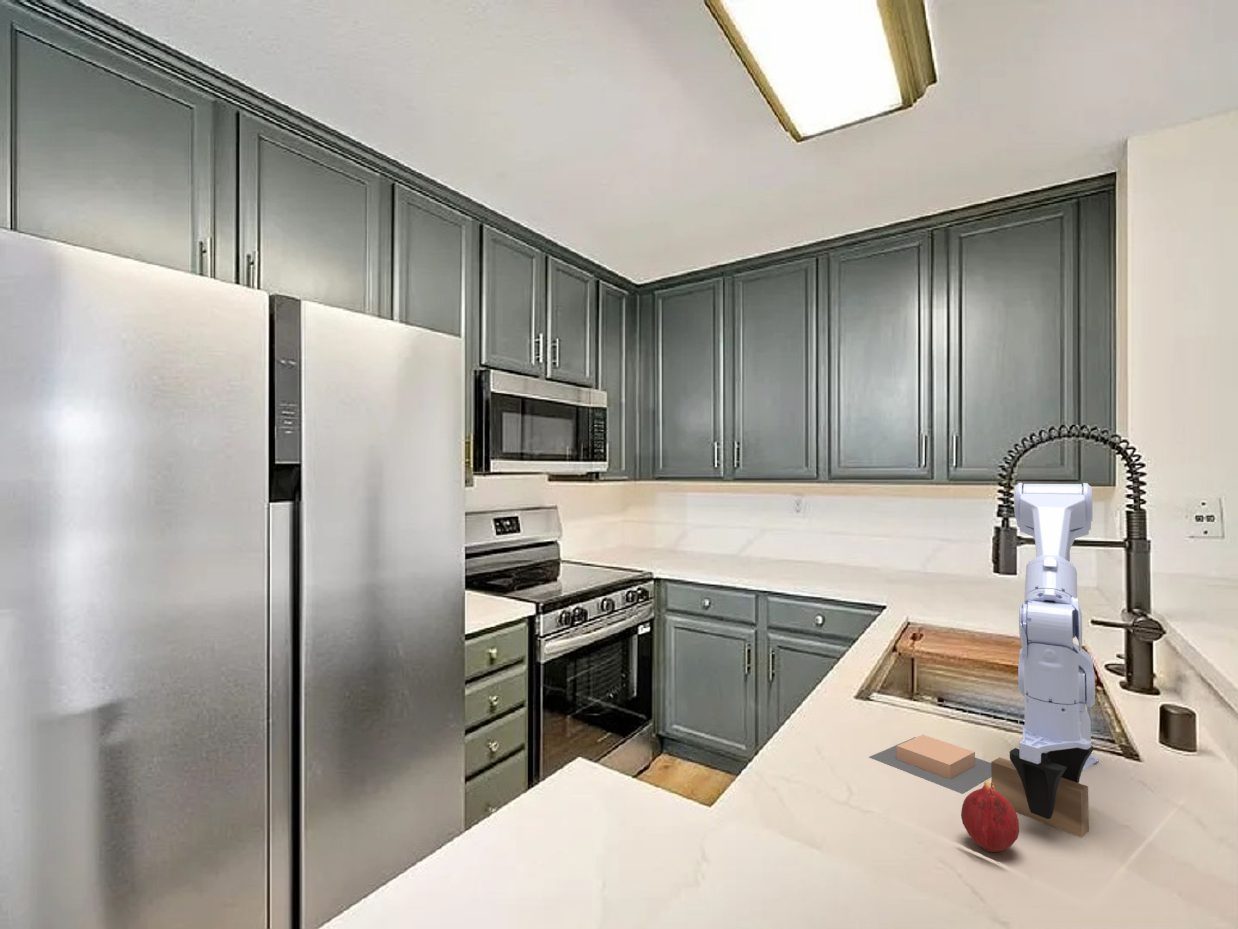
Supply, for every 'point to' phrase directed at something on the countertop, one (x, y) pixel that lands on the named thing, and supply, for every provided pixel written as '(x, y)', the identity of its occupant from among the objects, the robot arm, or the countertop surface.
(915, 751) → the tile
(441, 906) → the countertop surface
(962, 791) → the mat
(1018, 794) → the wooden plank piece
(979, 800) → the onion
